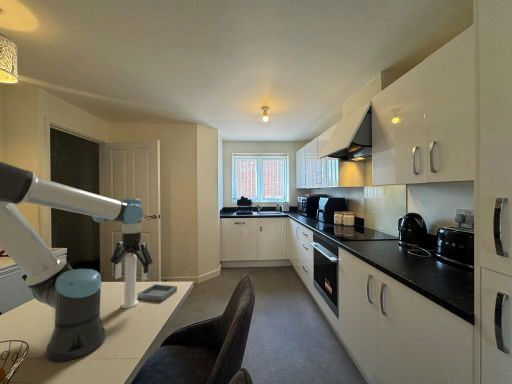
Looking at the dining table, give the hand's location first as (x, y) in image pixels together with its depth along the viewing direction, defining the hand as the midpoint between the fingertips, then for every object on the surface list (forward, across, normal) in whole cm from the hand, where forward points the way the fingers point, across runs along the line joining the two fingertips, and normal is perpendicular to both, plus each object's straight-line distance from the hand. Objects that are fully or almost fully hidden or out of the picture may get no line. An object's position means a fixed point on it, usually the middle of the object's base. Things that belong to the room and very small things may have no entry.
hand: (131, 278), depth 105 cm
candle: (+12, 0, 0) cm, 12 cm away
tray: (+12, -6, -12) cm, 17 cm away
